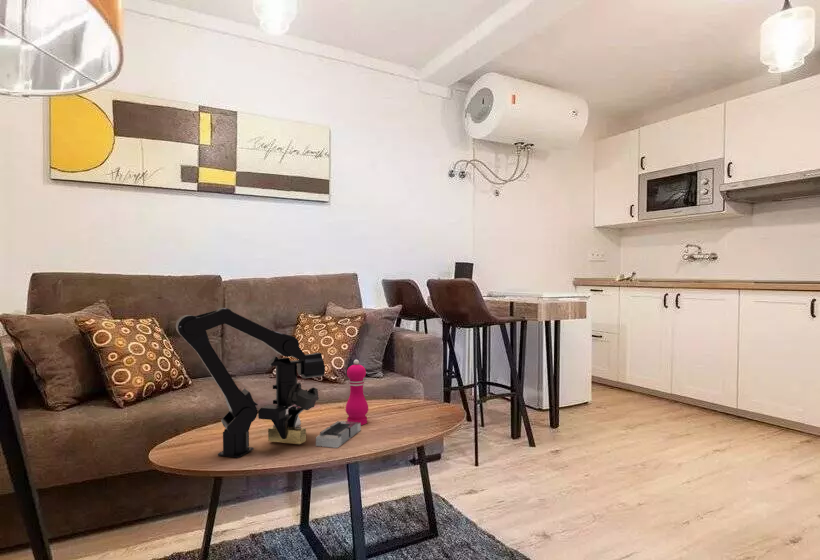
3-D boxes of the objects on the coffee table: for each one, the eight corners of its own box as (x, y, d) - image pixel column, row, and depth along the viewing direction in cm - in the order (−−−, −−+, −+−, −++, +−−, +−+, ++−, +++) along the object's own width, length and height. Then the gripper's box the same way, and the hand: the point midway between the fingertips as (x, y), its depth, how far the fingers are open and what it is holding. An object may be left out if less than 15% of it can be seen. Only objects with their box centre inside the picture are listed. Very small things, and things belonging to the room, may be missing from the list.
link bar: (306, 440, 129) (305, 425, 130) (300, 444, 127) (300, 428, 127) (274, 437, 132) (274, 423, 132) (268, 441, 129) (268, 426, 130)
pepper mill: (365, 418, 153) (364, 357, 153) (371, 424, 146) (370, 360, 146) (343, 421, 150) (342, 358, 151) (348, 427, 144) (347, 361, 144)
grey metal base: (337, 448, 125) (337, 436, 125) (315, 446, 127) (315, 434, 127) (360, 430, 140) (360, 420, 140) (341, 428, 142) (341, 419, 142)
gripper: (294, 388, 118) (295, 451, 118) (328, 375, 136) (329, 429, 136) (256, 386, 122) (257, 447, 121) (294, 373, 140) (295, 426, 139)
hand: (287, 437), depth 129 cm, fingers closed on link bar, 3 cm apart
